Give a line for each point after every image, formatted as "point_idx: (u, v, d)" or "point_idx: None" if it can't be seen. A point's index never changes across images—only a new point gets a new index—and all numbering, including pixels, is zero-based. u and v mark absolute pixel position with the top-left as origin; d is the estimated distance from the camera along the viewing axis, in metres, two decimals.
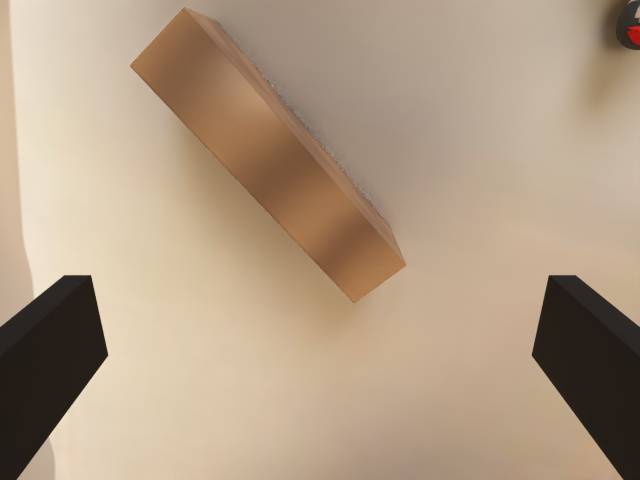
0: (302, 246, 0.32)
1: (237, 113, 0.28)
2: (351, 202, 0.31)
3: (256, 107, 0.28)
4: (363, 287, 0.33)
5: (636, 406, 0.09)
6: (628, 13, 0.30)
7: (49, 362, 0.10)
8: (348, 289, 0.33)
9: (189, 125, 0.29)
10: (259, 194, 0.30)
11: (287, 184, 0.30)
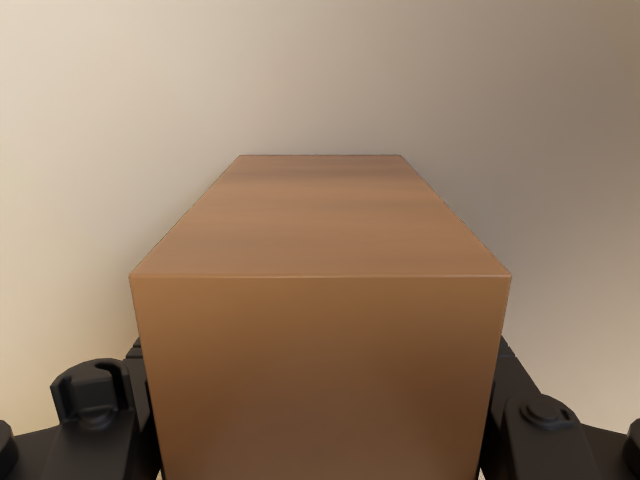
0: None
1: None
2: None
3: None
4: None
5: None
6: None
7: None
8: None
9: None
10: None
11: None
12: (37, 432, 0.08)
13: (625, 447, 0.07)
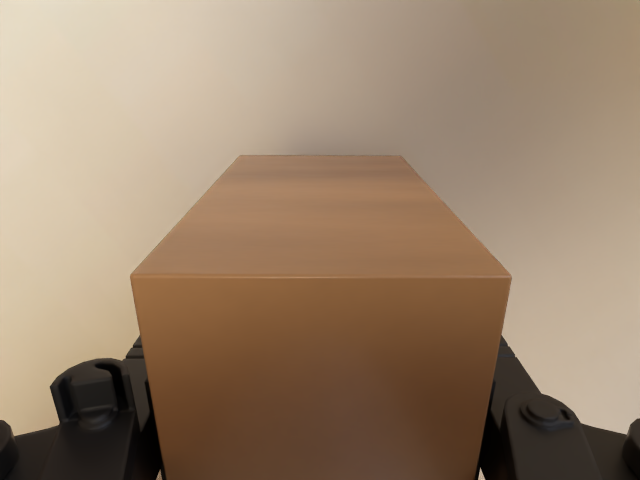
0: None
1: None
2: None
3: None
4: None
5: None
6: None
7: None
8: None
9: None
10: None
11: None
12: (36, 431, 0.08)
13: (625, 446, 0.07)
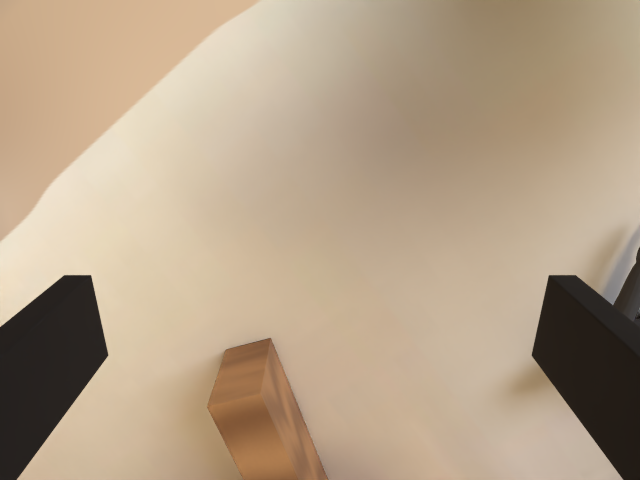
0: None
1: (264, 451, 0.40)
2: None
3: (278, 452, 0.40)
4: None
5: (636, 406, 0.09)
6: None
7: (49, 362, 0.10)
8: None
9: (229, 447, 0.40)
10: None
11: None
12: None
13: None
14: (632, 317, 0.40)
